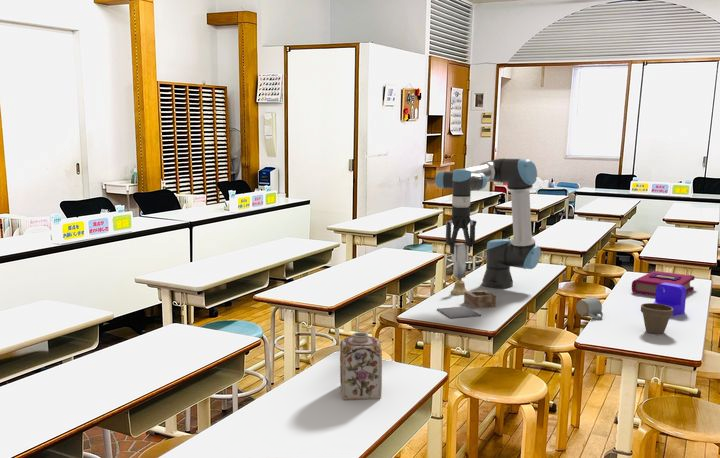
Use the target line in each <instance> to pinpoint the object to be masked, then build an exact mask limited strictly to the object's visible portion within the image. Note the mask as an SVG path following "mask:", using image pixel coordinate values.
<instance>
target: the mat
mask: <svg viewBox="0 0 720 458" xmlns="http://www.w3.org/2000/svg"><path fill="white" fill-rule="evenodd" d="M436 311H438V312H439V311H440V313H441V314H442V313H443V314H442V315H444V316H445V317H447V318H449V319H460V318H472V317H473V318H474V317H481V316H482V314H481V313H479V312H478V311H476V310H474V309H472V308H470V307H468V306H466V305H464V306H454V307H453V306H452V307H451V306H450V307H442V308H439V307H438V308H436Z"/></svg>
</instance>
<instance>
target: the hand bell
mask: <svg viewBox="0 0 720 458" xmlns="http://www.w3.org/2000/svg"><path fill="white" fill-rule="evenodd" d="M467 291H468V290H467V288H466V285H465V281H464V280H463V278H458V279H457V280H455V282H454V287H453V288H452V290H450V293H451V294H453V295H458V296H462V295H463V296H464V292H467Z"/></svg>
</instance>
